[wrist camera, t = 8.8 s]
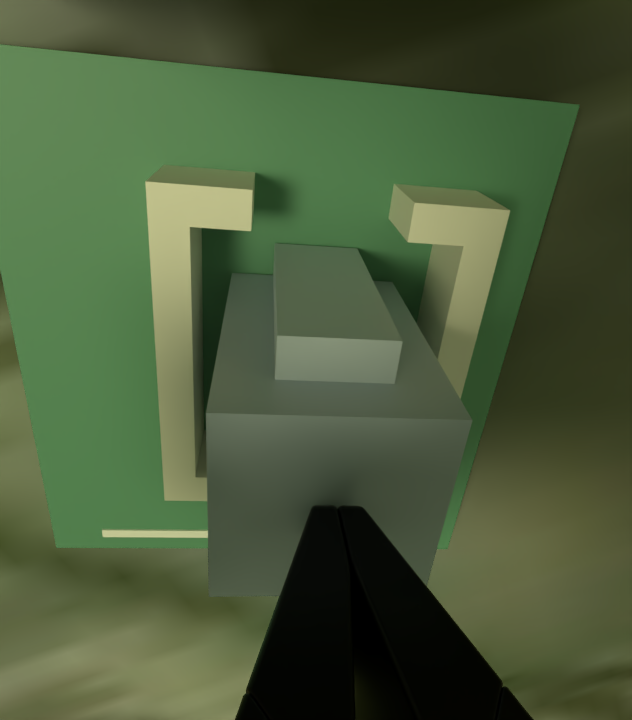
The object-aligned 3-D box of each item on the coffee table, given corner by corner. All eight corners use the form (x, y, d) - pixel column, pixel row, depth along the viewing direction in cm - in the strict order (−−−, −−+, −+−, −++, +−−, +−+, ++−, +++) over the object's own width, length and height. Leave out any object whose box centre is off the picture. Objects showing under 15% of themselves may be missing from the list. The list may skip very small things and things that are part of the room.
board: (437, 523, 19) (466, 599, 17) (69, 519, 18) (31, 602, 15) (554, 101, 13) (634, 110, 10) (-17, 42, 11) (-111, 33, 8)
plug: (370, 413, 15) (424, 594, 10) (230, 409, 15) (209, 596, 9) (397, 250, 13) (485, 375, 8) (232, 240, 12) (205, 364, 7)
